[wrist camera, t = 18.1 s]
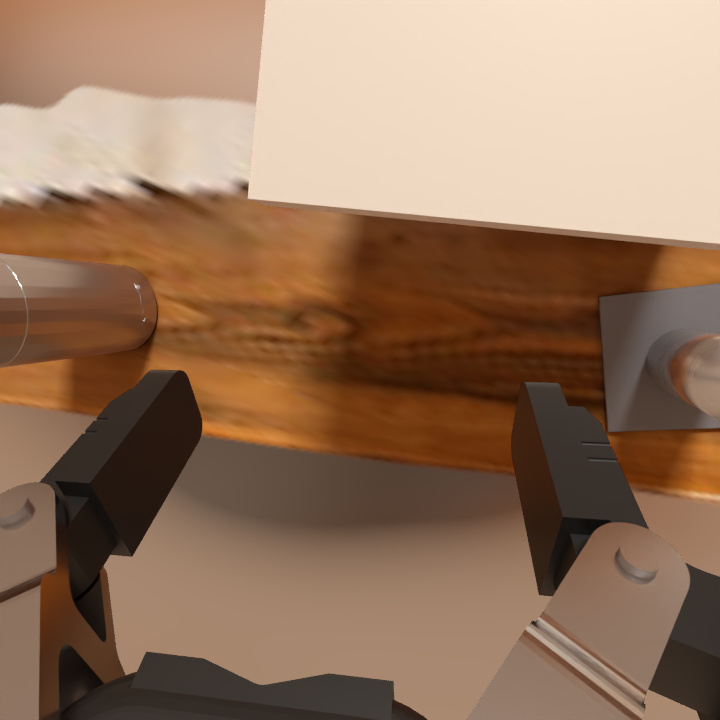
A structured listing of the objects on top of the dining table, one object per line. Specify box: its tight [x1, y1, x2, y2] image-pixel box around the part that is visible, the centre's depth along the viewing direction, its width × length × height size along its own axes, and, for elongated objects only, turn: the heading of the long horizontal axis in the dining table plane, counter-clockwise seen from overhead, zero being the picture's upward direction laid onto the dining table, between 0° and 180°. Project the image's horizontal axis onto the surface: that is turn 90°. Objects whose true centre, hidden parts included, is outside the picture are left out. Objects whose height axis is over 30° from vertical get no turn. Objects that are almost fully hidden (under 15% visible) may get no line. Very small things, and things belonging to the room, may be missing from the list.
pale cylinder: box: [646, 329, 720, 421], centre depth 31 cm, size 5×5×10 cm
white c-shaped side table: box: [248, 0, 720, 250], centre depth 28 cm, size 24×14×21 cm, turn 82°
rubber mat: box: [599, 283, 720, 432], centre depth 36 cm, size 11×11×1 cm
